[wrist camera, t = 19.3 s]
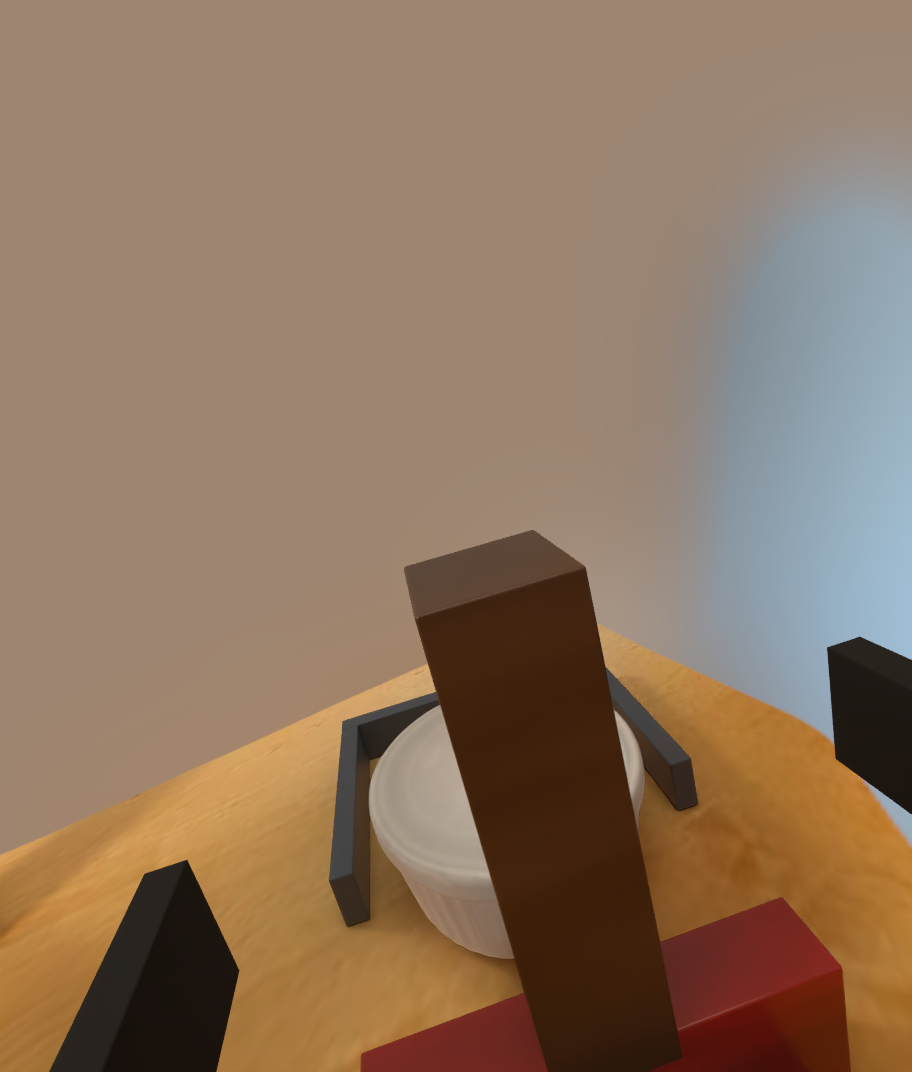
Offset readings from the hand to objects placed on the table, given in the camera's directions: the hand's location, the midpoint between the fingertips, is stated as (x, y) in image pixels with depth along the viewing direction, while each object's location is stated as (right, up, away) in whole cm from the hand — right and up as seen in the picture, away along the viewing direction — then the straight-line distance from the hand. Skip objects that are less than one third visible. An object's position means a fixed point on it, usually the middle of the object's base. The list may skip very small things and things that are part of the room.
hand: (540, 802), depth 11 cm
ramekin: (+1, -9, +13) cm, 16 cm away
